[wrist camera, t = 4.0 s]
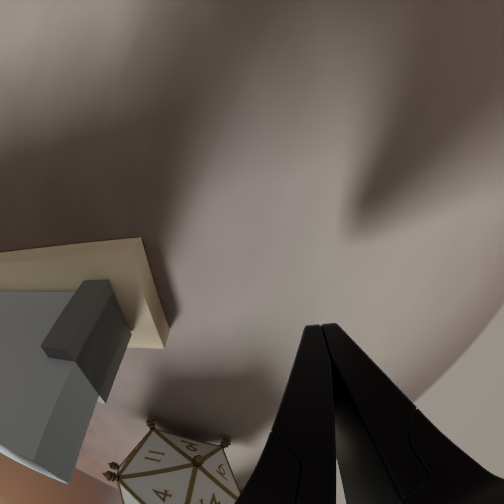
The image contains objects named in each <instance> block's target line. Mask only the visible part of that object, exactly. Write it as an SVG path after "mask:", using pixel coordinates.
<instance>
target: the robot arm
mask: <svg viewBox="0 0 504 504" xmlns="http://www.w3.org/2000/svg"><path fill="white" fill-rule="evenodd" d="M271 431H272V432H270V434H269V437H268V440H267V442H266V445H265V447H264V450H263V452H262V454H261V457H260V459H259V461H258V464H257V466H256V467H255V469H254V471H253V473H252V475H251V477H250V478H249V480H248V482H247V484H246V485H245V487H244V489H243V490H242V492H241V493H240V495H239V497H238V498H237V500H236V501H235V503H234V504H336V456H337V461H338V465H339V470H340V475H341V479H342V484H343V489H344V494H345V499H346V503H347V504H504V479H503V478H500V477H498V476H495V475H493V474H492V473H490V472H489V471H487V470H486V469H484V468H483V467H482V466H481V465H480V464H478V463H477V462H476V461H475V460H473V459H472V458H471V457H470V456H468V455H467V454H466V453H465V452H464V451H462V450H461V449H460V448H459V447H458V446H456V445H455V444H454V443H453V442H452V441H451V440H449V439H448V438H447V437H446V436H445V435H444V434H443V433H441V432H440V431H439V430H438V429H437V428H436V427H435V426H434V425H433V424H432V423H431V422H430V421H429V420H428V419H427V418H426V417H425V416H424V414H422V412H421V411H420V410H419V409H416V406H415V405H414V404H413V403H412V402H411V401H410V400H409V399H408V398H407V396H406V395H405V394H404V393H403V392H402V391H401V390H400V389H399V388H398V387H397V386H396V385H395V384H394V383H393V382H392V381H391V380H390V379H389V377H388V376H387V375H386V374H385V373H384V372H383V371H382V370H381V369H380V368H379V367H378V366H377V365H376V364H375V363H374V362H373V361H372V360H371V359H370V358H369V356H368V355H367V354H366V353H365V352H364V351H363V350H362V349H361V348H360V347H359V346H358V345H357V344H356V343H355V342H354V341H353V340H352V339H351V338H350V337H349V336H348V335H347V334H346V333H345V331H344V330H343V329H342V328H341V327H340V326H339V325H338V324H336V323H329V324H322V325H321V326H320V325H307V326H305V328H304V331H303V334H302V338H301V341H300V344H299V348H298V351H297V354H296V358H295V361H294V364H293V367H292V370H291V373H290V377H289V380H288V383H287V386H286V389H285V392H284V395H283V398H282V401H281V404H280V407H279V409H278V412H277V415H276V418H275V421H274V424H273V426H272V429H271Z"/></svg>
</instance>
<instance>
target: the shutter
mask: <svg viewBox="0 0 504 504" xmlns="http://www.w3.org/2000/svg"><path fill="white" fill-rule="evenodd" d="M131 336H132V334H131V331H130V329H129V327H128V325H127V322H126V320H125V318H124V316H123V313H122V311H121V309H120V306H119V304H118V302H117V299H116V297H115V294H114V292H113V289H112V287H111V284H110V281H109V279H106V280H84V281H83V282H82V284H81V285H80V286H79V288H78V289H77V291H76V292H22V291H0V452H1V453H3V454H4V455H6V456H8V457H10V458H12V459H14V460H15V461H17V462H19V463H21V464H23V465H25V466H27V467H29V468H31V469H33V470H36V471H38V472H40V473H42V474H44V475H47V476H49V477H51V478H54V479H56V480H59V481H61V482H64V483H66V484H69V485H70V483H71V479H72V476H73V472H74V469H75V465H76V462H77V459H78V456H79V452H80V449H81V446H82V443H83V440H84V437H85V434H86V431H87V428H88V425H89V422H90V419H91V416H92V414H93V411H94V408H95V405H96V403H97V402H99V403H104V404H106V402H107V399H108V396H109V393H110V390H111V388H112V385H113V382H114V379H115V377H116V374H117V371H118V369H119V366H120V364H121V361H122V358H123V356H124V353H125V351H126V348H127V346H128V343H129V341H130V338H131Z"/></svg>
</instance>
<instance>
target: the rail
mask: <svg viewBox="0 0 504 504" xmlns="http://www.w3.org/2000/svg"><path fill="white" fill-rule="evenodd" d="M106 279H109V281H110V284H111V287H112V289H113V292H114V294H115V297H116V299H117V302H118V304H119V306H120V309H121V311H122V313H123V316H124V318H125V320H126V322H127V325H128V327H129V329H130V331H131V334H132V336H131V338H130V341H129V343H128V346H127V347H135V348H165V344H166V341H167V338H168V334H169V331H170V328H169V326H168V323H167V320H166V317H165V314H164V311H163V308H162V305H161V302H160V299H159V296H158V293H157V290H156V287H155V284H154V280H153V277H152V274H151V271H150V267H149V264H148V260H147V257H146V253H145V250H144V246H143V243H142V239H141V237H139V238H128V239H118V240H108V241H98V242H88V243H79V244H69V245H60V246H51V247H43V248H34V249H26V250H17V251H9V252H1V253H0V291H22V292H76V291H77V289H78V288H79V286H80V285H81V284H82V282H83V281H84V280H106Z"/></svg>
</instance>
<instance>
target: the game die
mask: <svg viewBox="0 0 504 504" xmlns="http://www.w3.org/2000/svg"><path fill="white" fill-rule="evenodd" d="M154 421H155V420H153V419H152V418H151V417H150V416H149V415H148V418H147V421H146V422H147V424H148V425H147V426H149V428H150V431H149V432H148V433H147V434H146V435H145V437H144V438H143V439H142V440H141V441H140V443H139V444H138V445H137V446H136V447H135V448H134V449H133V451H132V452H131V453H130V454H129V455H128V456H127V458H126V459H125V460H124V461H123V462H122V463H121V464H120V466H119V465H118V464H117V463H115V462H112V463H108V464H109V466H110V468H112V469H114V470H118V471H117V475H116V474H115V473H112V472H111V471H107V472H106V473H103V475H104V476H105V477H106V478H107V480H108V481H109V480H112V481H115V480H116V482H117V486H118V490H119V494H120V498H121V502H122V504H234V503H235V501H236V500H237V498H238V497H239V495H240V493H241V492H240V489H239V487H238V485H237V482H236V480H235V477H234V475H233V472H232V470H231V467H230V465H229V462H228V460H227V457H226V454H225V452H224V448H225V447H228V445H231V444H230V441H231V438H227V439H223V441H221V444H220V445H214V444H210V443H206V442H202V441H197V440H194V439H190V438H186V437H182V436H179V435H175V434H172V433H168V432H165V431H162V430H158V429H156V428H155V423H154Z"/></svg>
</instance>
